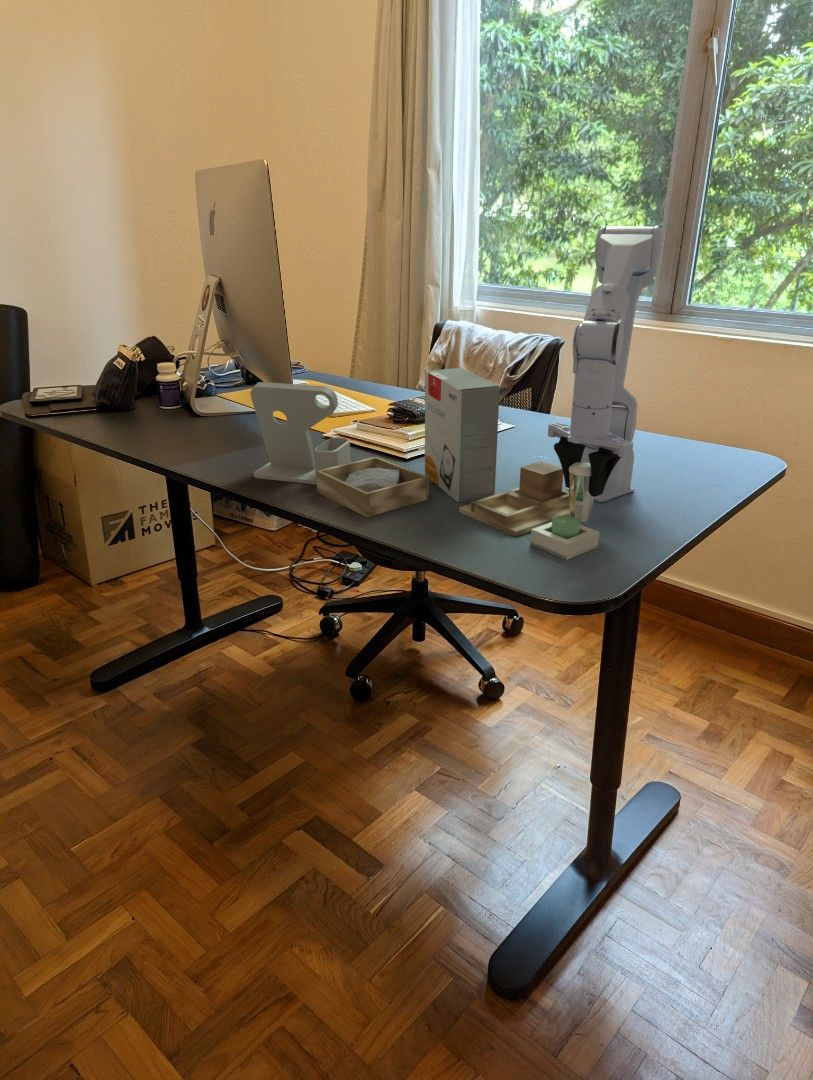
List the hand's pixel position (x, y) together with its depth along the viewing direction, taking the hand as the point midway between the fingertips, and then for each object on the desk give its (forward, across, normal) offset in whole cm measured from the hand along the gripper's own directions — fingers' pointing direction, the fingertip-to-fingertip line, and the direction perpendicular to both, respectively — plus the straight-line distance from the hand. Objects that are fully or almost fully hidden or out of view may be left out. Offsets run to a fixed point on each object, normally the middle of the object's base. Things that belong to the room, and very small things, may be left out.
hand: (583, 490), depth 116 cm
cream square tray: (+6, +4, -8) cm, 11 cm away
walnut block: (+5, -10, +1) cm, 11 cm away
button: (+4, +4, -8) cm, 10 cm away
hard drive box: (+6, -26, -3) cm, 27 cm away
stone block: (+6, -32, -18) cm, 37 cm away
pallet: (+6, -10, -3) cm, 12 cm away
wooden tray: (+6, -32, -18) cm, 37 cm away
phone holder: (+6, -50, -21) cm, 54 cm away
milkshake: (+5, 0, 0) cm, 5 cm away
